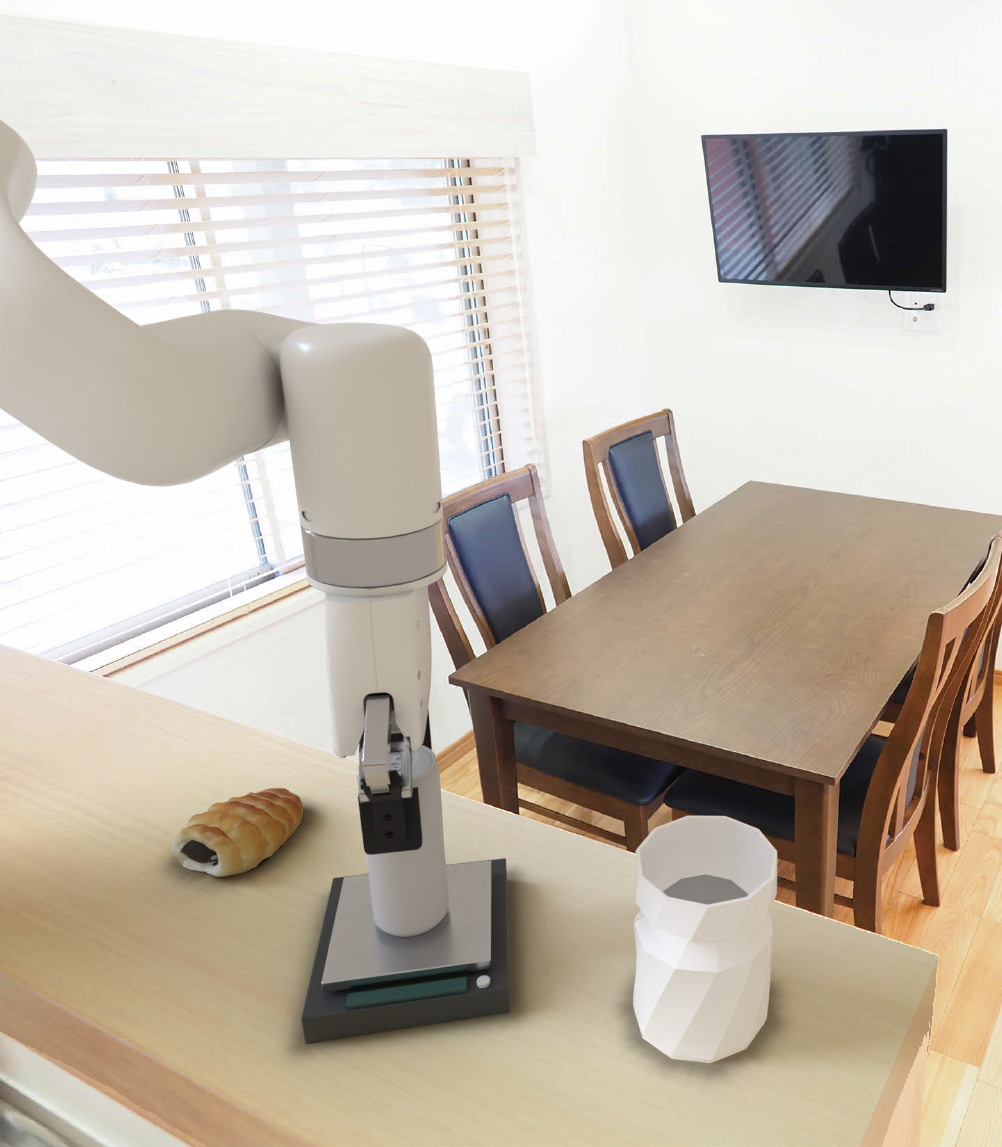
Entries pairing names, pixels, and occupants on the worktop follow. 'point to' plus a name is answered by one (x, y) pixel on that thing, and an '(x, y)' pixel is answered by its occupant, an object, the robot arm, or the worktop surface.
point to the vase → (703, 936)
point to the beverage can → (413, 862)
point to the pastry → (238, 832)
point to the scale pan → (386, 958)
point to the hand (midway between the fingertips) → (401, 801)
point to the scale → (409, 985)
